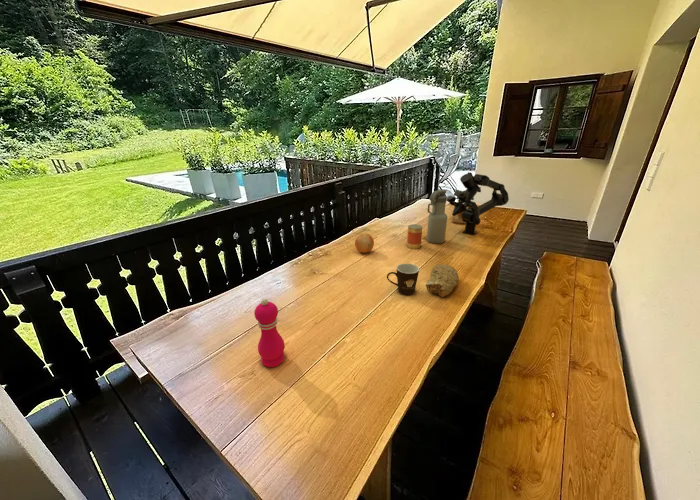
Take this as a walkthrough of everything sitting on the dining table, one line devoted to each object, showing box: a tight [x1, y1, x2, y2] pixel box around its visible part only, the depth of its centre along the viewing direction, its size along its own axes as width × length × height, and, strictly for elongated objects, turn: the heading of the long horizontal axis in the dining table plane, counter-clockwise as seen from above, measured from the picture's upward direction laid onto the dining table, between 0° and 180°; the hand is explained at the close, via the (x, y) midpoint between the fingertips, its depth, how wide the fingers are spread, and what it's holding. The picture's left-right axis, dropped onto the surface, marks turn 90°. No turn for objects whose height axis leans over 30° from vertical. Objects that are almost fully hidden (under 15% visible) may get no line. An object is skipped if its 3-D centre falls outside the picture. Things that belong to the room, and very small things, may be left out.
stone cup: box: [450, 207, 469, 224], centre depth 196 cm, size 15×12×15 cm
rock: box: [425, 263, 460, 298], centre depth 121 cm, size 13×8×20 cm
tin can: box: [406, 223, 423, 250], centre depth 159 cm, size 7×7×11 cm
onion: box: [354, 232, 375, 254], centre depth 152 cm, size 10×10×10 cm
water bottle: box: [426, 189, 448, 245], centre depth 162 cm, size 10×10×28 cm
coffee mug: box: [386, 263, 420, 296], centre depth 117 cm, size 12×9×10 cm
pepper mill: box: [253, 297, 286, 368], centre depth 81 cm, size 7×7×20 cm
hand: (452, 215), depth 167 cm, fingers closed
